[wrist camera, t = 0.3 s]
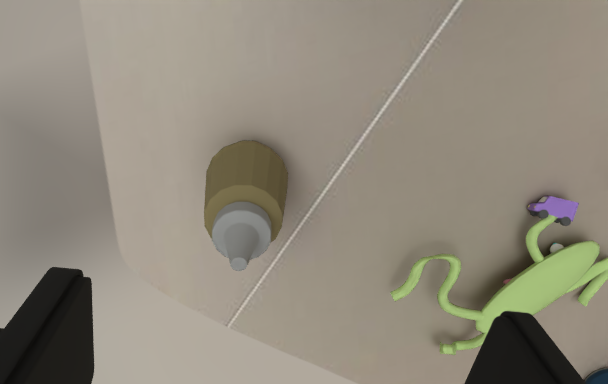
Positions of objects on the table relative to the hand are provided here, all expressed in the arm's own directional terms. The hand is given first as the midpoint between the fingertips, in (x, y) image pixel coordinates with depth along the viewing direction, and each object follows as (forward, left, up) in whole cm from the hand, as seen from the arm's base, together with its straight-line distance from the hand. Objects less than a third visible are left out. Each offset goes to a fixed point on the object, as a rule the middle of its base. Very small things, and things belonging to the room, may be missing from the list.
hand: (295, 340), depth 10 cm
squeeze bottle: (+11, -1, -37) cm, 38 cm away
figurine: (+21, +31, -37) cm, 52 cm away
